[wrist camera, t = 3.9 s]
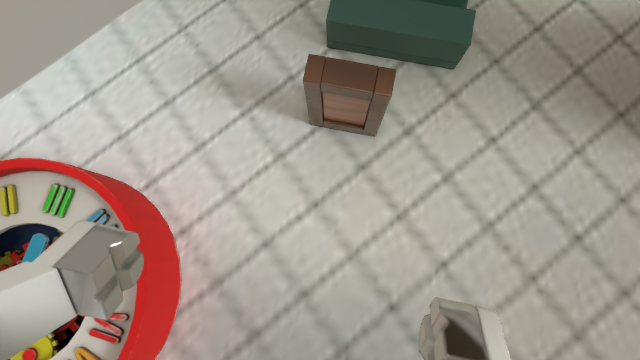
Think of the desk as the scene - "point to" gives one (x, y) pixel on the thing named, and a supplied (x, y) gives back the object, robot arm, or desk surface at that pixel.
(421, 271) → the desk surface
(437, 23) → the holder
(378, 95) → the frame
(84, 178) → the toy clock
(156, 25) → the desk surface
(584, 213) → the desk surface
